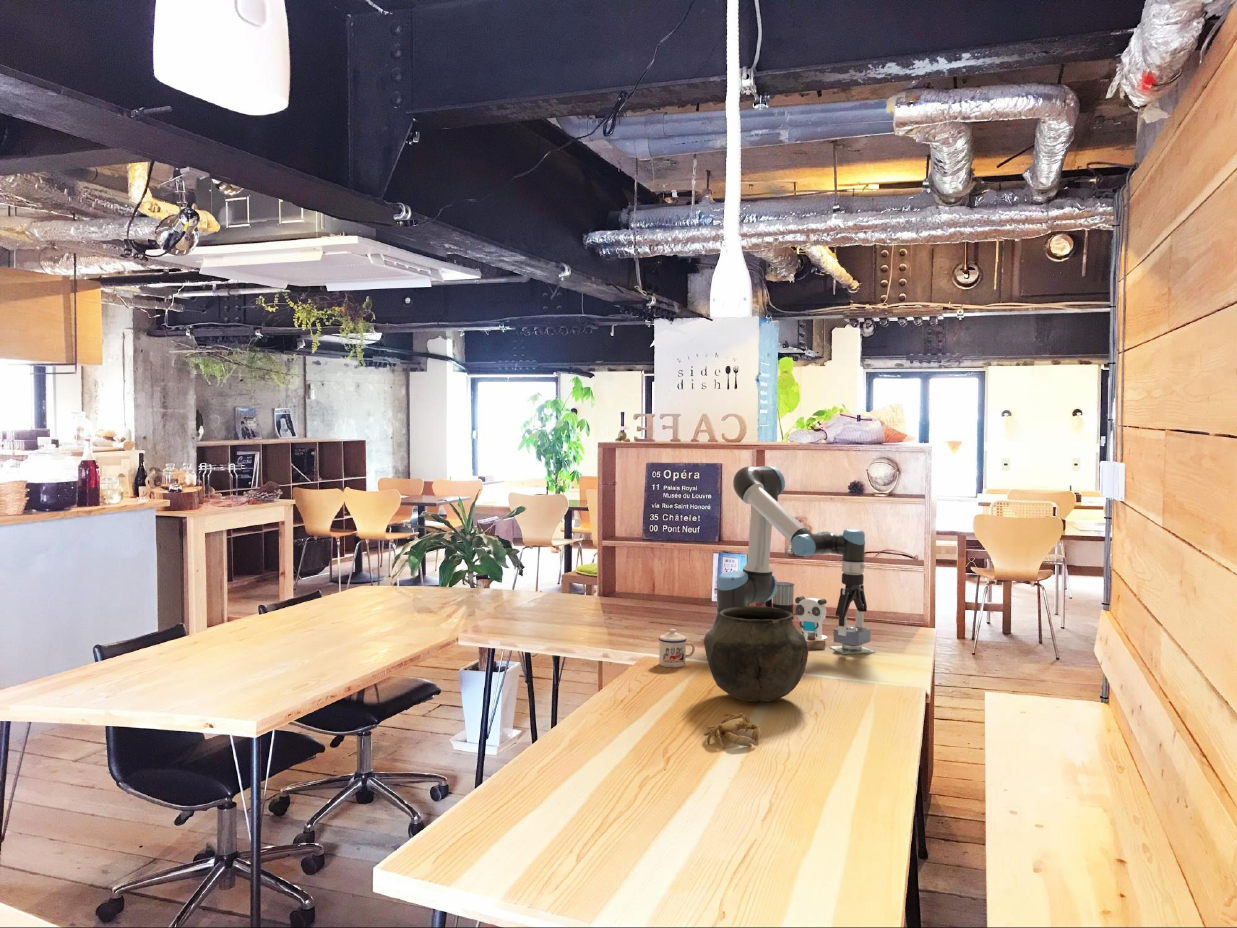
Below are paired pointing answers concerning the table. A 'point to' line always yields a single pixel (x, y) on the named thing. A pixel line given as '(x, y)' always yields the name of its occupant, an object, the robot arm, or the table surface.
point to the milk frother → (783, 597)
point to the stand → (814, 641)
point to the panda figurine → (811, 615)
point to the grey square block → (853, 636)
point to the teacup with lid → (673, 649)
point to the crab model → (734, 725)
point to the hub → (851, 647)
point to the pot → (756, 653)
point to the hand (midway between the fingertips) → (850, 632)
